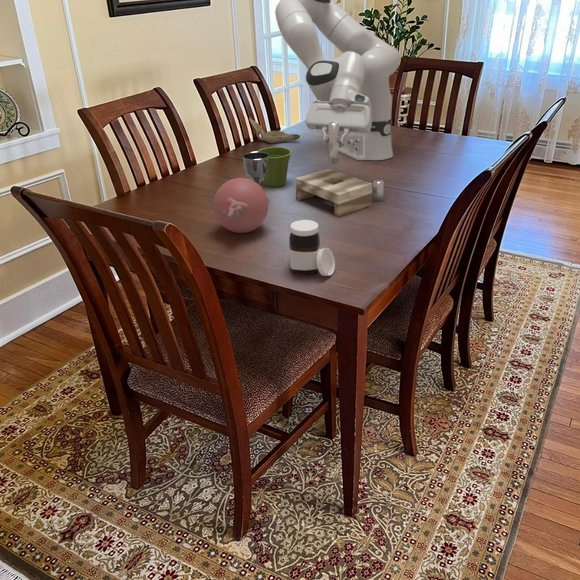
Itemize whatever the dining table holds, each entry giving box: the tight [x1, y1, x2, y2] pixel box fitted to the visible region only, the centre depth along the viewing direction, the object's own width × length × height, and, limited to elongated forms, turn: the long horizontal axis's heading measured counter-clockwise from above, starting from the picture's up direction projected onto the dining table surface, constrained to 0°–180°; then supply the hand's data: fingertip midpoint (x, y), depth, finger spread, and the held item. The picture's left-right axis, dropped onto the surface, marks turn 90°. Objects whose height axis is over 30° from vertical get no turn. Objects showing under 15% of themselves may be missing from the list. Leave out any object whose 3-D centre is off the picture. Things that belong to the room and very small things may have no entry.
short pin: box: [372, 179, 385, 202], centre depth 188 cm, size 3×3×6 cm
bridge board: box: [295, 168, 373, 218], centre depth 186 cm, size 20×14×7 cm
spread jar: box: [288, 219, 336, 277], centre depth 146 cm, size 12×11×12 cm
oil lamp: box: [248, 117, 301, 144], centre depth 247 cm, size 9×21×10 cm, turn 79°
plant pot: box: [256, 146, 293, 187], centre depth 201 cm, size 12×12×11 cm
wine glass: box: [242, 151, 269, 186], centre depth 187 cm, size 8×8×15 cm
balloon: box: [213, 177, 269, 234], centre depth 165 cm, size 15×20×15 cm
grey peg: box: [327, 122, 340, 165], centre depth 179 cm, size 3×3×12 cm
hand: (333, 142), depth 178 cm, fingers closed on grey peg, 3 cm apart
